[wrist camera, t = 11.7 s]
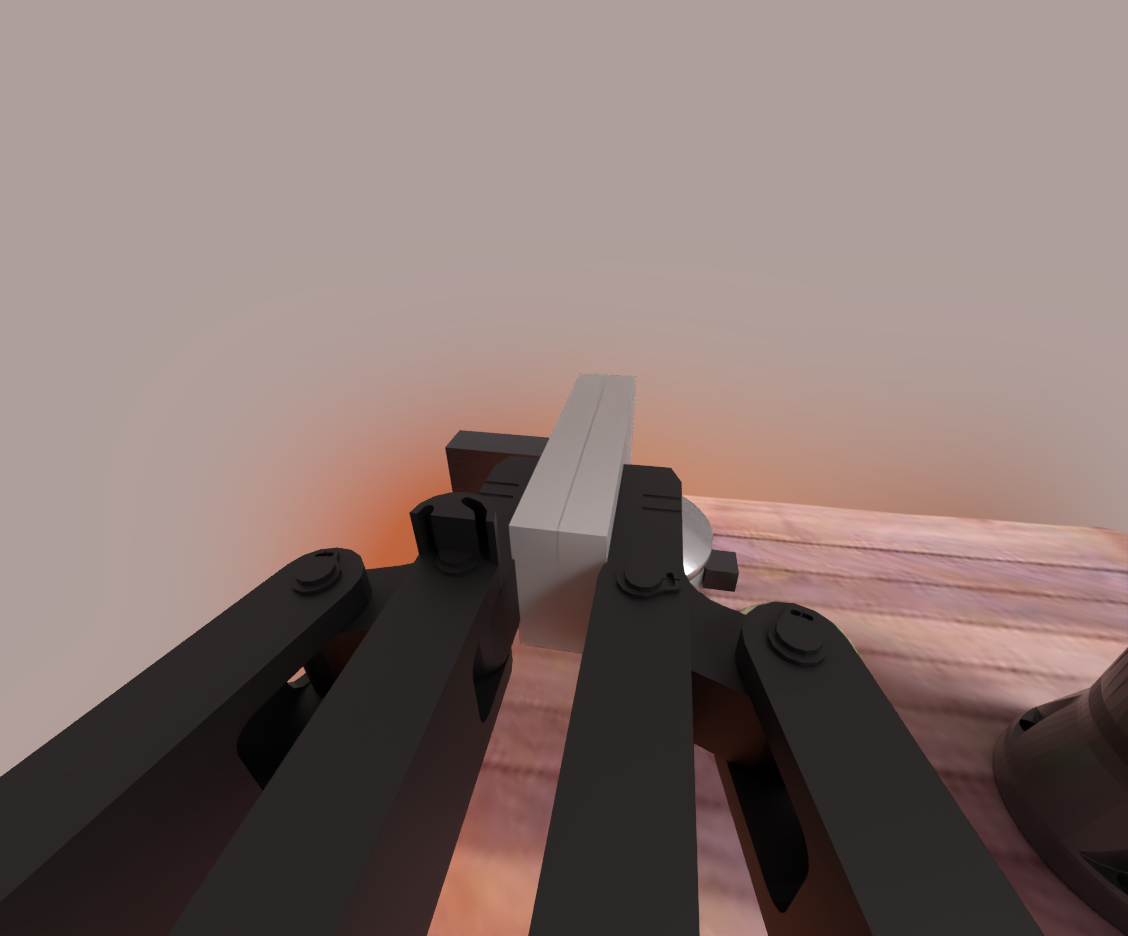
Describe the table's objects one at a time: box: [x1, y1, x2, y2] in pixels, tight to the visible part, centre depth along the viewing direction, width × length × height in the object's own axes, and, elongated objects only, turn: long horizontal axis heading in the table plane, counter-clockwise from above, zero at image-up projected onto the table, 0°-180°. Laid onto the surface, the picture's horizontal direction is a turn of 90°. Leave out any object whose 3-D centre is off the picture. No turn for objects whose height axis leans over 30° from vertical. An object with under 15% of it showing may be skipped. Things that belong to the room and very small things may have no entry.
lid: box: [445, 430, 713, 581], centre depth 46 cm, size 25×16×9 cm, turn 78°
